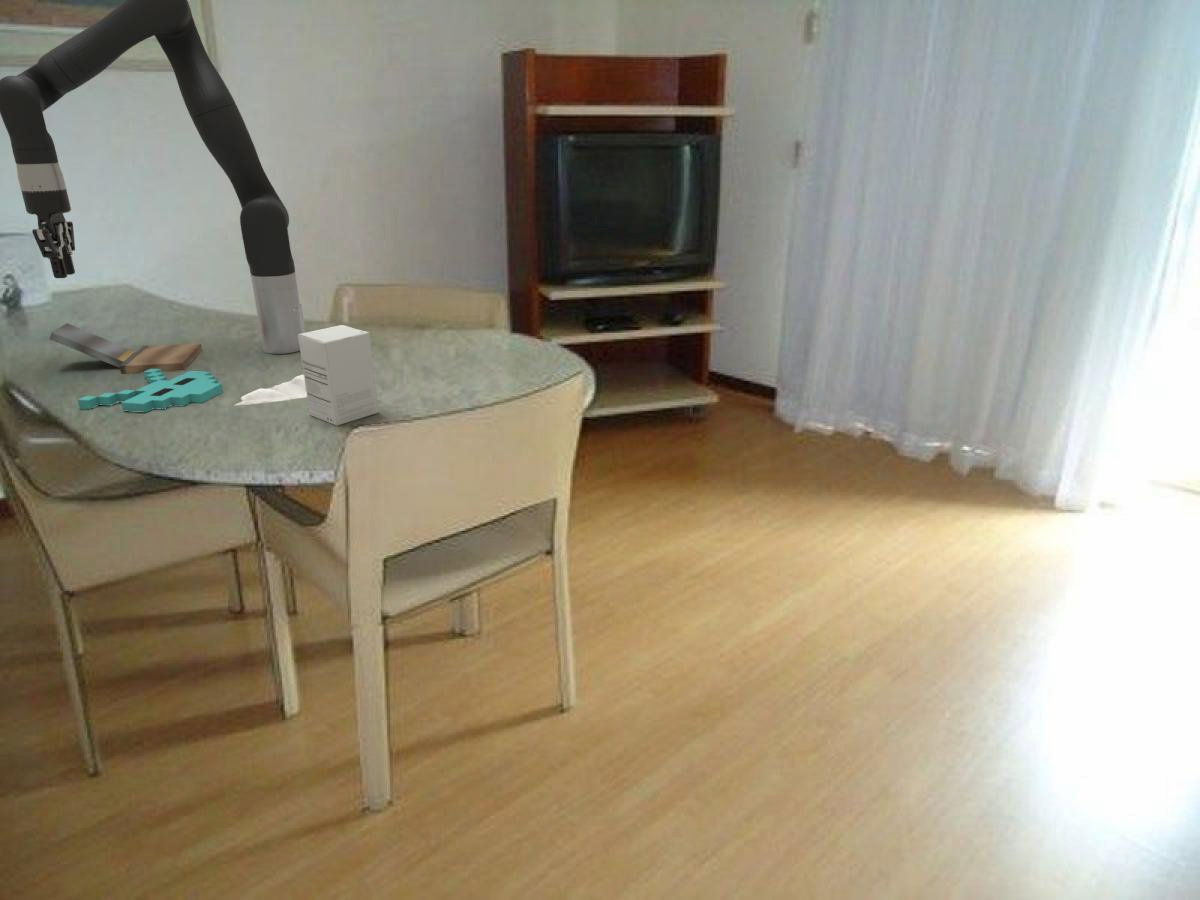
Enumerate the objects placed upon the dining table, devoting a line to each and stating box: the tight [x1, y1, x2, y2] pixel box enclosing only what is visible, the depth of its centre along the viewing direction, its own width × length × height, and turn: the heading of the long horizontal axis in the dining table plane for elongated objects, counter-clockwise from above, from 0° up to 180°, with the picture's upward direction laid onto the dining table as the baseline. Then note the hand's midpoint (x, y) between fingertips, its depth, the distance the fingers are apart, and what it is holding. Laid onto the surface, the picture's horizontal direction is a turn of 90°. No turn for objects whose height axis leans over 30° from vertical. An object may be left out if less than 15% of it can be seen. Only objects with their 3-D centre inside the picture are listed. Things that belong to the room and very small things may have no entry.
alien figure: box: [77, 369, 224, 412], centre depth 157 cm, size 20×2×20 cm
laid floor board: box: [119, 343, 203, 375], centre depth 178 cm, size 12×16×2 cm
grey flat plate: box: [48, 322, 136, 369], centre depth 174 cm, size 14×8×2 cm, turn 102°
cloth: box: [232, 373, 307, 407], centre depth 161 cm, size 26×14×2 cm, turn 137°
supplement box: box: [298, 324, 380, 427], centre depth 145 cm, size 9×9×15 cm
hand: (65, 275), depth 168 cm, fingers open, 3 cm apart
